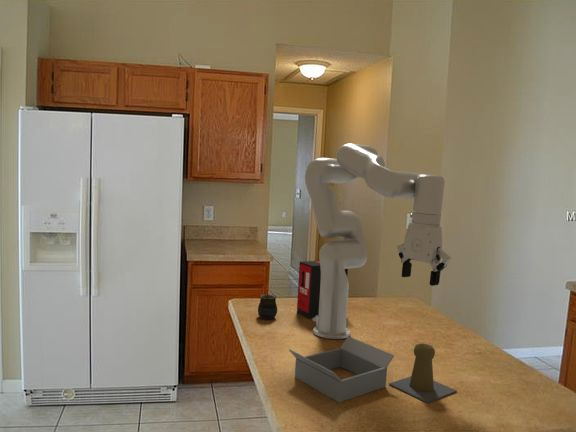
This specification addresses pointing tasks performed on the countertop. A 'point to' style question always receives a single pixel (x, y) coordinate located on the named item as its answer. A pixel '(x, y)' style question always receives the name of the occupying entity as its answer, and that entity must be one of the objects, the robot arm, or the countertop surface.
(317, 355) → the carton
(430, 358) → the cork
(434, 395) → the rubber mat
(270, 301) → the mate gourd
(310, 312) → the cleaning product box
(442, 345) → the countertop surface
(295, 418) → the countertop surface
